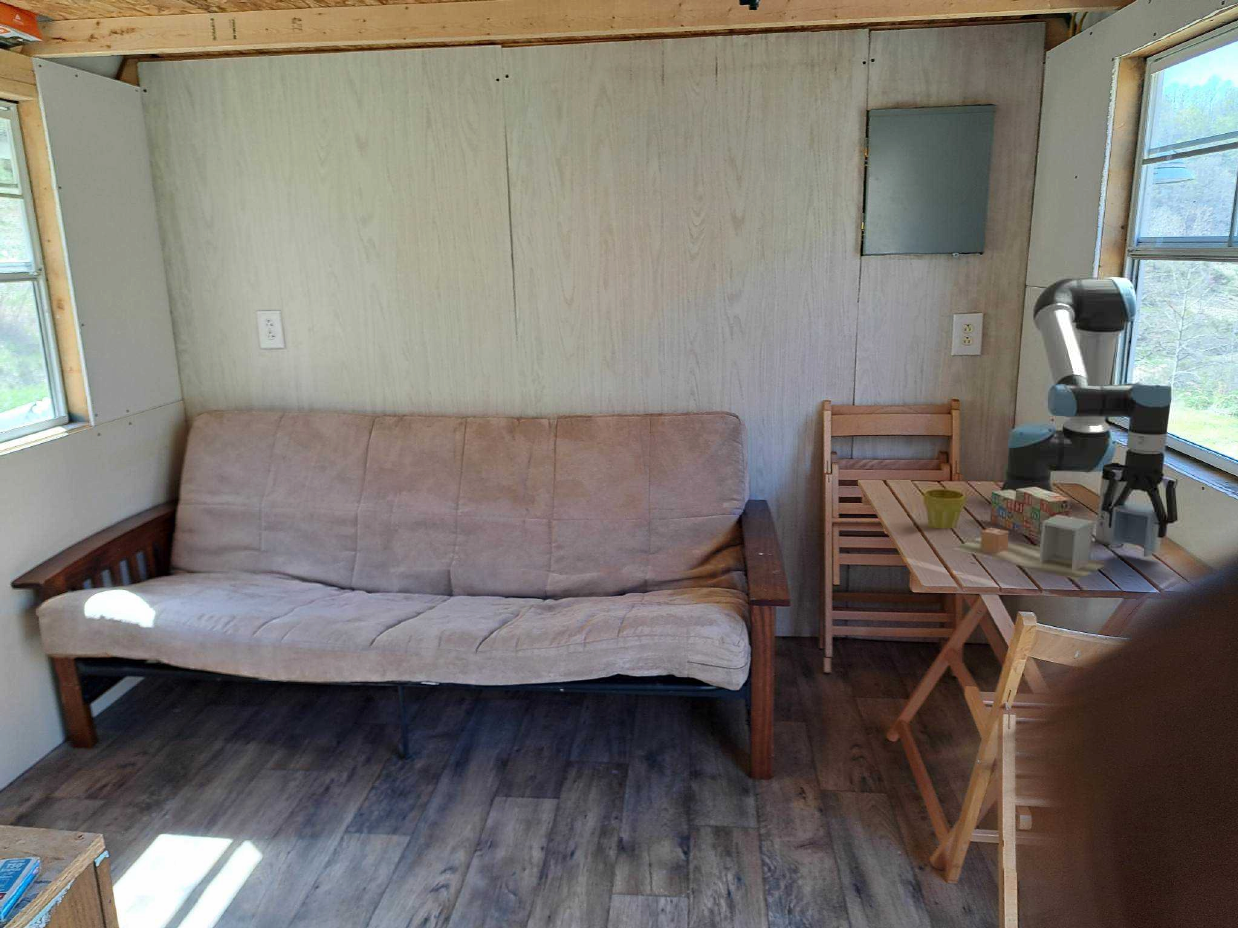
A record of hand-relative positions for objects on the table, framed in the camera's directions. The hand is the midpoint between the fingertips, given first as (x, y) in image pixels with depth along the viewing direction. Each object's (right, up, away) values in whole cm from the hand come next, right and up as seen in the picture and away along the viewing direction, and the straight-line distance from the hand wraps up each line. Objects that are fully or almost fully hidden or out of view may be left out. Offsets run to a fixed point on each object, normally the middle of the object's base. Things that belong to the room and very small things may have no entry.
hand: (1134, 545), depth 204 cm
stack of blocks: (-14, 0, +25) cm, 28 cm away
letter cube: (-28, -2, +11) cm, 30 cm away
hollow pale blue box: (0, -1, 0) cm, 1 cm away
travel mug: (+3, -1, +16) cm, 16 cm away
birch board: (-22, -4, +6) cm, 23 cm away
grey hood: (-16, -4, 0) cm, 17 cm away
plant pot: (-33, +2, +31) cm, 46 cm away
